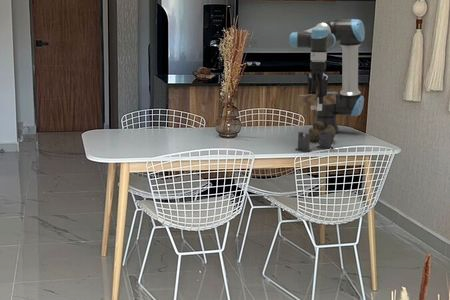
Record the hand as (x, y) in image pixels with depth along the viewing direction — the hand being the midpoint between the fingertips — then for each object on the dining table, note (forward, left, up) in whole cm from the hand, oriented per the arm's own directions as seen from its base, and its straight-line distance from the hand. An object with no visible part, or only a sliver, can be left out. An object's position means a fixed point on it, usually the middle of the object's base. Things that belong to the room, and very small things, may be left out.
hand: (316, 110), depth 287 cm
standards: (0, 0, -19) cm, 19 cm away
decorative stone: (-19, -15, -20) cm, 31 cm away
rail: (0, 0, +3) cm, 3 cm away
